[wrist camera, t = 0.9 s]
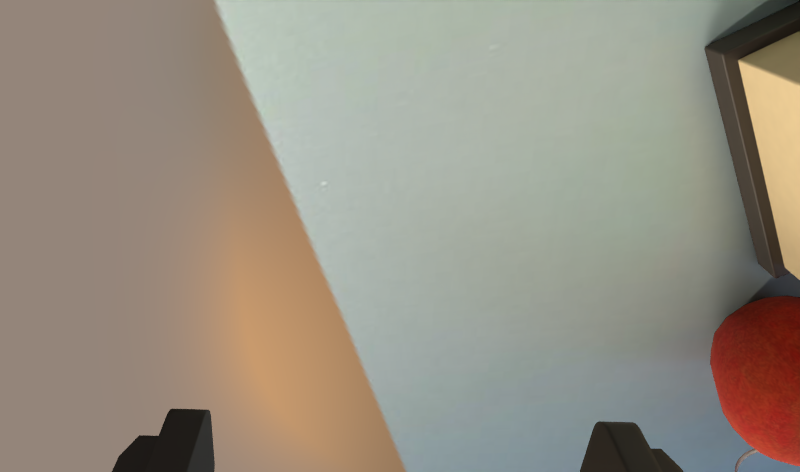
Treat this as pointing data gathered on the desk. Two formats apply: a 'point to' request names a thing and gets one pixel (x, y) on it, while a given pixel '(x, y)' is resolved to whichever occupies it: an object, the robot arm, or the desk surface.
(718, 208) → the desk surface
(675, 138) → the desk surface
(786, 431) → the apple
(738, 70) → the tall tapered bin
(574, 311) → the desk surface
